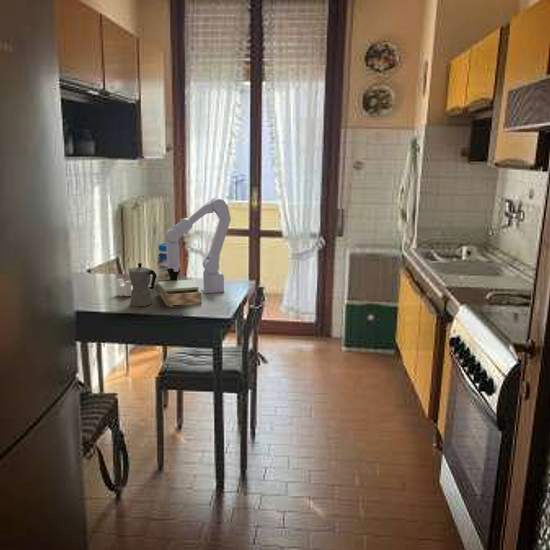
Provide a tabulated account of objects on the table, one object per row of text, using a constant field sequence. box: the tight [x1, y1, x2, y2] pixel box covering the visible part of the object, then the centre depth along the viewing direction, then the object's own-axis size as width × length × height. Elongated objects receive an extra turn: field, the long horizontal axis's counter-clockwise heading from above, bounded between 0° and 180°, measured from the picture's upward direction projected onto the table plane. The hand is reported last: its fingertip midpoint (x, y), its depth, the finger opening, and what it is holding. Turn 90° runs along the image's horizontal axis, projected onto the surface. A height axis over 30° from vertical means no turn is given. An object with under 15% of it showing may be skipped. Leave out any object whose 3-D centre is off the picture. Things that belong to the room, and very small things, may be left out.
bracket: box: [116, 278, 152, 297], centre depth 251 cm, size 13×7×8 cm, turn 139°
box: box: [160, 287, 203, 307], centre depth 240 cm, size 15×15×5 cm
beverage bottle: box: [156, 243, 170, 283], centre depth 271 cm, size 8×8×20 cm
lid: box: [157, 279, 199, 292], centre depth 245 cm, size 15×16×4 cm
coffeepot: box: [127, 262, 158, 307], centre depth 232 cm, size 15×9×18 cm, turn 61°
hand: (173, 283), depth 254 cm, fingers closed
